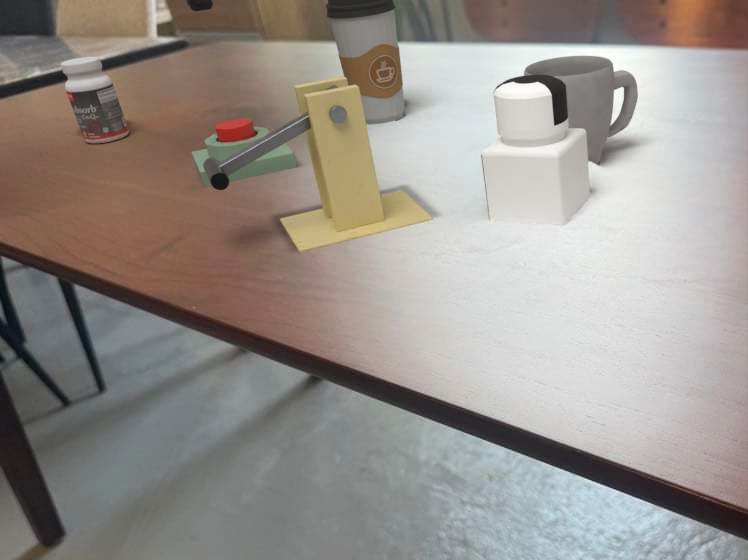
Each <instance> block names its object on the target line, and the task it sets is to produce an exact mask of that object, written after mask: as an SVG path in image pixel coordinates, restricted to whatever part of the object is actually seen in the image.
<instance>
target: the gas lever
mask: <svg viewBox="0 0 748 560" xmlns="http://www.w3.org/2000/svg"><path fill="white" fill-rule="evenodd" d="M335 88H338V87H337V86H336V85H333V86H331V87H329V88H328V89H326V90H329V89H335ZM310 128H311V124H310V120H309V116H308V112H307V113H305V114H303V115H302V116H301V115H300V116H298V117H296V118H294V119H293V120H291V121H289V122H287V123H286V124H284V125H283V126H280V127H279V128H277V129H275V130H274V131H272V132H270V134H268V135H267V136H265V137H263V138H261V139H260V140H258V141H256V142H254V143H253V144H251V145H249V146H247V147H246V148H244V149H242V150H240V151H239V152H237V153H235V154H234V155H232V156H230V157H228V158H227V159H225V160H223V161H221V162H220V161H219V160H217V159H216V158H208V159H206V160H205V162H204V165H203V167H204V170H205V172H206V174H207V176H208V178H209V181H210V183H211V185H212V186H211V187H212V188H213V189H215V190H217V191H224V190H226V189H227V188H228V187H229V186H230V182H229V178H228V176H229V175H230V174H232V173H234V172H236V171H237V170H239V169H241V168H243V167H244V166H246V165H248V164H250V163H251V162H253V161H255V160H256V159H258V158H260V157H262V156H263V155H265V154H267V153H269V152H270V151H272V150H274V149H276V148H277V147H279V146H281V145H283V144H284V143H286V144H287V143H288V142H290V141H291V140H293V139H295V138H297V137H299V136H301V135H302V134H303V133H305V131H307V130H309V129H310Z"/></svg>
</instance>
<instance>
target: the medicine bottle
mask: <svg viewBox="0 0 748 560" xmlns="http://www.w3.org/2000/svg"><path fill="white" fill-rule="evenodd" d="M492 93H493V102H494V108H495V109H494V110H495V111H494V112H495V119H496V126H497V127H496V128H497V134H498V136H500V137H498V138H497V139H496V140H494V141H493V142H491V143H490V144H489V145H488V146H486V147H485V148H484V149H482V151H481V152H480V157H481V158H480V159H481V165H482V166H481V167H482V173H483V180H484V181H483V182H484V190H485V198H486V204H487V213H488V219H489V221H490V222H499V223H514V224H528V225H529V224H532V225H545V226H546V225H547V226H548V225H549V226H560V227H561V226H565V225H567V224H568V222H569V221H570V220H571V219H572V218H573V217H574V216H575V215H576V214H577V213H578V211H579V210H580V209H581V208H582V207H583V206H584V205H585V203H586V202H587V201H588V200H589V199H590V198H591V190H590V189H591V188H590V172H589V160H588V152H587V135H586V130H585V129H582V128H568V127H569V123H568V108H567V94H566V85H565V84H564V82H563V81H562V80H560V79H558V78H555V77H553V76H549V75H526V76H524V75H520V76H516V77H512V78H509V79H506V80H504V81H503V82H502V83H499V84H497V86H496V87H495V88H494V90H493V92H492Z"/></svg>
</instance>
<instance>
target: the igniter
mask: <svg viewBox="0 0 748 560" xmlns="http://www.w3.org/2000/svg"><path fill="white" fill-rule="evenodd" d="M254 130H255V133H256V136H254V137H252V138H249V139H246V140H241V141H236V142H226V143H223V142H219V140H218V136H217V133H213V134H210V136H208V137H207V138H206V139H204V141H203V142H204V145H205V148H203V149H198V150H193V151H191V153H190V154H191V156H192V159H193V162H194V165H195V169H196V172H197V174H198V176H199V178H200V181H201V183H202V186H203V188H208V187H213V186H212V185H211V183H210V181H209V178H208V176H207V174H206V172H205V170H204V167H203V165H204V162H205V160H206V159H208V158H216V159H217V160H219V161H220V162H221V161H223V160H225V159H227V158H228V157H230V156H232V155H234V154H235V153H237V152H239V151H240V150H242V149H244V148H246V147H247V146H249V145H251V144H253V143H254V142H256V141H258V140H260V139H261V138H263V137H265V136H267V135H268V134H270V133H271V132H270V131H269V129H268V128H267V127H262V126H261V127H260V126H254ZM296 168H298V163H297V159H296V156H295V152H294V151H293V150H292V148H291V147H290V146H289V145H288V144H287V142H286V143H284V144H283V145H281V146H279V147H277V148H276V149H274V150H272V151H270V152H269V153H267V154H265V155H263V156H262V157H260V158H258V159H256V160H255V161H253V162H251V163H250V164H248V165H246V166H244V167H243V168H241V169H239V170H237V171H236V172H234V173H232V174H230V175H229V176H228V178H229V183H231V182H235V181H240V180H245V179H250V178H254V177H259V176H264V175H268V174H272V173H278V172H282V171H287V170H292V169H296Z"/></svg>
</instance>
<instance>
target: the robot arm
mask: <svg viewBox="0 0 748 560" xmlns="http://www.w3.org/2000/svg"><path fill="white" fill-rule="evenodd" d="M185 2H186V4H187V6H188V7H189V9H191V10H192V12H201V11H209V10H210V9H212V8H213V6H214V5H213V0H185Z"/></svg>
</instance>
